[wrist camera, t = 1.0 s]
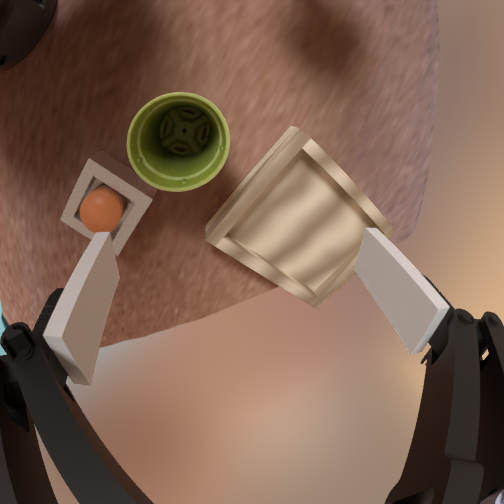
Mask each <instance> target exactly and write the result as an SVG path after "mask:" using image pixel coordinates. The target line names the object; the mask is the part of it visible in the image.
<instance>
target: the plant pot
mask: <svg viewBox="0 0 504 504" xmlns="http://www.w3.org/2000/svg"><path fill="white" fill-rule="evenodd" d="M185 110H191V111H194V112H195V114H191V113H186V112H183V111H185ZM166 122H168V124H167V128H166V133H164V132H163V131H164V124H165V123H166ZM183 129H186V130H187V131H186V133H183V132H182V131H183ZM204 129H206V136H205V138H204V139H202V136H203V132H204ZM175 147H179V148H185V149H186V150H185V151H178V150H176V149H175ZM229 149H230V133H229V128H228V125H227V122H226V120H225V118H224V116H223V115H222V113H221V112H220V110H219V109H218V108H217V107H216V106H215V105H214V104H213V103H212V102H210V101H209V100H207V99H205V98H203V97H201V96H199V95H196V94H192V93H187V92H174V93H169V94H165V95H162V96H159V97H157V98H155V99H153V100H151V101H150V102H148V103H147V104H146V105H145V106H143V107H142V108H141V109H140V111H139V112H138V113H137V114H136V116H135V117H134V119H133V121H132V122H131V125H130V127H129V131H128V135H127V153H128V158H129V161H130V163H131V165H132V167H133V169H134V170H135V172H136V173H137V174H138V176H139V177H140V178H141V179H142V180H144V181H145V182H146V183H148V184H149V185H151V186H153V187H155V188H158V189H160V190H164V191H171V192H183V191H188V190H192V189H195V188H198V187H200V186H202V185H204V184H206V183H207V182H209V181H210V180H211V179H213V178H214V177H215V176H216V175H217V174H218V172H219V171H220V170H221V169H222V167H223V165H224V164H225V161H226V159H227V156H228V153H229Z"/></svg>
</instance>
